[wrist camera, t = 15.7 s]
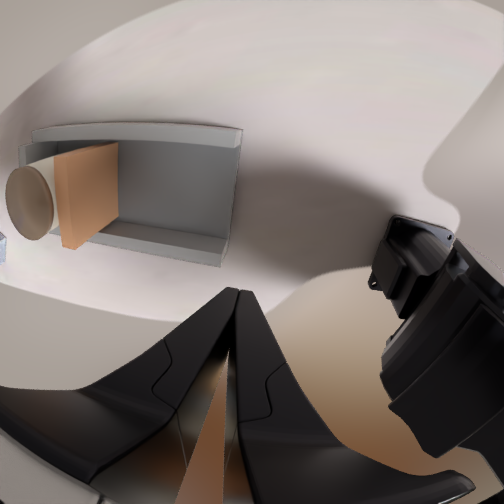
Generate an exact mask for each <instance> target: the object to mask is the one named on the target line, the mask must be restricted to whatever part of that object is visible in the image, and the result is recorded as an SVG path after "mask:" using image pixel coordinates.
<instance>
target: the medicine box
mask: <svg viewBox="0 0 504 504" xmlns="http://www.w3.org/2000/svg"><path fill="white" fill-rule="evenodd" d="M5 254H6V238H5V237H4V236H3V235H2V234H1V233H0V265H1V264H2V263H3V262H4V261H5Z"/></svg>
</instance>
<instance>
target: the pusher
mask: <svg viewBox="0 0 504 504" xmlns="http://www.w3.org/2000/svg"><path fill="white" fill-rule="evenodd" d="M54 179H55V193H56V203H57V212H58V220H59V227H60V234H61V240H62V246H63V247H65V248H69V249H74V250H76V249H77V248H78V247H79V246H81V245H82V244H83V243H84V242H86V241H87V240H88V239H89V238H91V237H92V236H93V235H95V234H96V233H97V232H98V231H100V230H101V229H102V228H104V227H105V226H106V225H108V224H109V223H110V222H112V221H113V220H114V219H116V218H117V217H118V216H119V213H118V142H104V143H100V144H96V145H92V146H89V147H85V148H81V149H78V150H74V151H71V152H67V153H64V154H61V155H58V156H55V157H54Z"/></svg>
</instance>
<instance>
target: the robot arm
mask: <svg viewBox="0 0 504 504" xmlns="http://www.w3.org/2000/svg"><path fill="white" fill-rule="evenodd" d="M397 220H398V224H395V221H397ZM448 235H450V236H449V237H448ZM447 237H448V238H447ZM453 239H454V234H453V232H451V231H450V230H447V229H444V228H441V227H437V226H434V225H431V224H427V223H424V222H420V221H417V220H413V219H409V218H405V217H402V216H398V215H395V216H393V217H392V218H391V219H390V222H389V225H388V228H387V231H386V234H385V237H384V239H383V240H382V241H381V243H380V245H379V248H378V251H377V254H376V257H375V259H374V262H373V265H372V273H371V276H370V278H369V281H368V285H369V287H370V289H372V290H378V291H383V293H384V295H385V297H386V299H389V300H391V302H392V304H393V306H394V308H395V311H396V313H397V315H398V317H399V318H400V319H405V320H404V322H403V323H402V324H401V326H400V327H399V328H398V329H397V331H396V332H395V333H394V334H393V335H392V336H390V338H389V339H388V340H387V341H386V348H385V349H384V352H383V354H382V357H381V358H382V371H381V372H380V379H381V381H382V384H383V387H384V389H385V390H386V392H387V394H388V396H389V397H390V399H391V400H392V402H391V403H390V404H389V405H388V407H389V409H390V410H391V411H392V412H394V413H395V414H396V415H398V416H399V417H401V419H403V421H404V422H405V423H406V424H407V425H408V426H409V427H410V429H411V431H412V432H413V433H414V435H415V437H416V439H417V441H418V443H419V444H420V446H421V448H422V450H423V451H424V452H426V453H427V454H429V455H431V456H432V457H434V458H439V457H441V456H442V455H444V454H446V453H447V452H449V451H450V450H452V449H453V448H455V447H459V448H463V449H467V450H471V451H475V452H478V453H479V454H480V455H481V456H482V457H483V459H484V460H485V462H486V463H487V465H488V466H489V467H490V469H491V470H492V472H493V473H494V474H495V476H496V478H497V479H498V481H499V482H500V484H501V485H502V487H503V488H504V272H503V271H502V270H501V269H500V268H499V267H498V266H497V265H496V264H495V263H494V262H492V261H491V260H490V259H488V258H487V257H485V256H484V255H482V254H481V253H479V252H478V251H476V250H475V249H474V248H472V247H471V246H469V245H467V244H466V243H464V242H463V241H461V240H460V239H458V238H456V240H455V242H454V243H453V248H452V250H450V246H451V244H452V241H453ZM374 282H376V283H375V284H374V285H372V283H374ZM228 352H229V356H228ZM227 356H228V371H227V392H226V415H225V443H224V474H223V475H224V477H223V504H449V503H451V502H453V501H455V500H457V499H459V498H461V497H463V496H465V495H467V494H469V493H470V492H472V491H474V490H475V489H476V487H475V485H474V483H473V482H472V481H471V480H470V479H469V478H468V477H466V476H464V475H463V474H460V473H458V472H456V471H454V470H446V471H443V472H440V473H437V474H433V475H427V476H417V475H411V474H407V473H404V472H401V471H399V470H396V469H393V468H391V467H389V466H386V465H384V464H382V463H380V462H377V461H375V460H373V459H371V458H368V457H366V456H364V455H362V454H360V453H358V452H356V451H354V450H351V449H350V448H348V447H347V446H345V445H344V444H342V443H341V442H340V441H339V440H338V439H337V438H336V437H335V436H334V435H333V433H332V432H331V431H330V429H329V428H328V427H327V425H326V424H325V422H324V421H323V420H322V418H321V417H320V415H319V414H318V413H317V411H316V410H315V408H314V407H313V405H312V404H311V403H310V401H309V400H308V398H307V397H306V395H305V394H304V392H303V391H302V389H301V387H300V386H299V384H298V382H297V380H296V379H295V377H294V375H293V373H292V371H291V369H290V367H289V365H288V363H286V362H287V361H286V359H285V357H284V355H283V353H282V351H281V349H280V347H279V345H278V343H277V341H276V339H275V336H274V335H273V333H272V330H271V328H270V326H269V324H268V322H267V320H266V318H265V316H264V314H263V312H262V310H261V307H260V305H259V303H258V301H257V299H256V297H255V295H254V293H253V292H252V291H248V290H240V292H239V289H237V288H231V287H226V288H225V289H224V290H222V291H221V292H220V293H219V294H217V295H216V296H215V297H214V298H212V299H211V300H210V301H209V302H208V303H206V304H205V305H204V306H203V307H201V308H200V309H199V310H198V311H196V312H195V313H194V314H193V315H191V316H190V317H189V318H188V319H186V320H185V321H184V322H183V323H181V324H180V325H179V326H178V327H176V328H175V329H174V330H172V331H171V332H170V333H169V334H167V335H166V336H165V337H164V338H163V339H161V340H160V341H158V342H157V343H156V344H155V345H153V346H152V347H151V348H149V349H148V350H147V351H145V352H144V353H143V354H141V355H140V356H138V357H136V358H135V359H133V360H132V361H130V362H129V363H127V364H125V365H124V366H122V367H120V368H119V369H117V370H115V371H114V372H112V373H110V374H108V375H107V376H105V377H103V378H101V379H100V380H98V381H96V382H95V383H93V384H91V385H88V386H86V387H83V388H80V389H76V390H34V389H33V390H32V389H18V388H8V387H4V386H0V504H174V503H175V500H176V498H177V495H178V492H179V490H180V487H181V484H182V482H183V479H184V476H185V473H186V470H187V468H188V465H189V462H190V460H191V457H192V454H193V452H194V449H195V446H196V443H197V440H198V438H199V435H200V432H201V429H202V427H203V424H204V421H205V418H206V415H207V413H208V410H209V407H210V404H211V401H212V399H213V396H214V393H215V390H216V387H217V384H218V381H219V379H220V376H221V373H222V370H223V367H224V365H225V362H226V359H227ZM477 504H504V489H503V490H501V491H500V492H498V493H496V494H494V495H493V496H491V497H489V498H487V499H485V500H483V501H481V502H480V503H477Z"/></svg>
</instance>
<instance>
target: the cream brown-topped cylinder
mask: <svg viewBox="0 0 504 504" xmlns="http://www.w3.org/2000/svg"><path fill="white" fill-rule="evenodd" d="M78 149H81V148H78ZM78 149H75V150H78ZM71 151H74V150H71ZM71 151H68V152H71ZM64 153H67V152H64ZM64 153H61V154H64ZM61 154H58V155H61ZM58 155H55V156H58ZM55 156H52V157H49V158H46V159H43V160H40V161H37V162H34V163H31V164H28V165H26V166H23V167H20V168H18V169H15V170H14V171H13V172H12V173H11V174H10V176H9V178H8V181H7V184H6V192H5V196H6V205H7V210H8V213H9V216H10V218H11V221H12V223H13V224H14V226H15V228H16V229H17V230H18V232H19V233H20V234H21V235H22V236H24V237H25V238H27V239H29V240H38V239H40V238H41V237H43V236H44V235H46V234H47V233H49V232H50V231H52V230H53V229H55V228H56V227H58V226H59V220H58V212H57V203H56V193H55V179H54V157H55Z"/></svg>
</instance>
